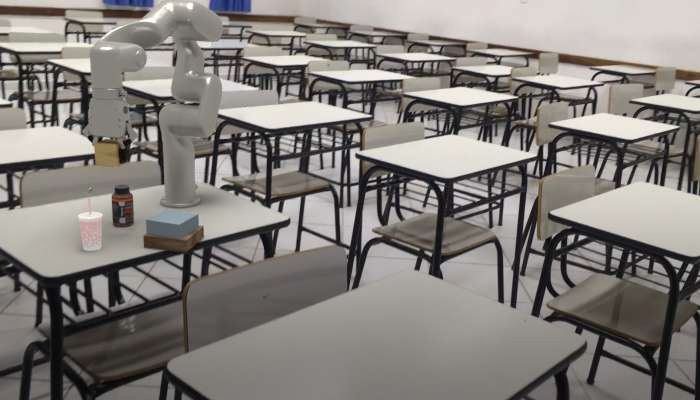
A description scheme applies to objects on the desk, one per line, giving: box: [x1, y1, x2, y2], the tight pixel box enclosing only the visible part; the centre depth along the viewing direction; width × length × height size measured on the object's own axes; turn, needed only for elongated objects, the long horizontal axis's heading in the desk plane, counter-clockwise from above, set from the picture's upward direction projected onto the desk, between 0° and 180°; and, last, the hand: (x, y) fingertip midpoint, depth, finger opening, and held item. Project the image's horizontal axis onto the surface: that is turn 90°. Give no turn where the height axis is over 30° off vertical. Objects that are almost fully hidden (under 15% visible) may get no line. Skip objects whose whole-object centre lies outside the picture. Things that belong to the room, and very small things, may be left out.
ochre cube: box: [93, 138, 129, 169], centre depth 184 cm, size 6×6×6 cm
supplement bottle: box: [111, 184, 135, 227], centre depth 200 cm, size 6×6×11 cm
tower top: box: [145, 208, 200, 239], centre depth 187 cm, size 10×10×4 cm
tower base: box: [142, 225, 205, 254], centre depth 188 cm, size 12×12×4 cm
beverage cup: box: [77, 196, 104, 252], centre depth 180 cm, size 6×6×14 cm
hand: (111, 160), depth 185 cm, fingers closed on ochre cube, 6 cm apart
